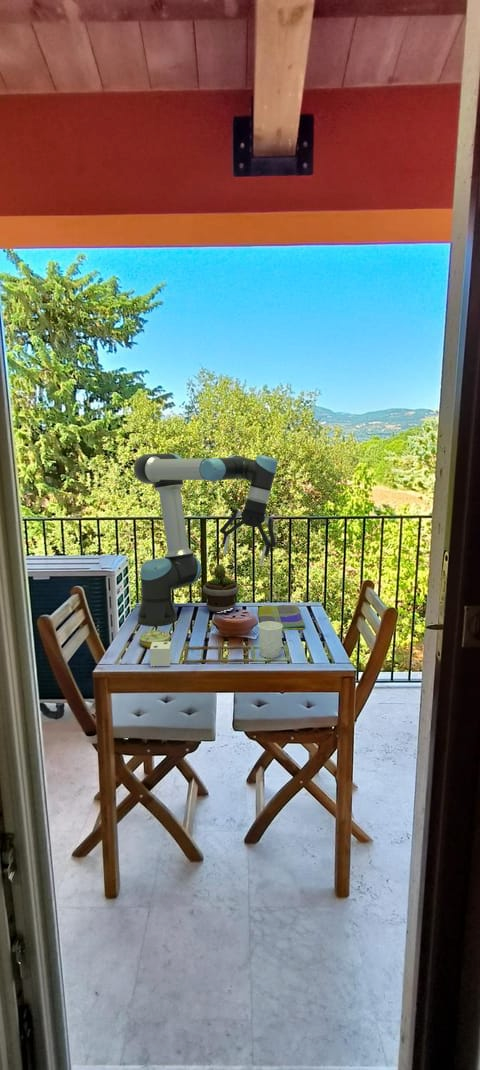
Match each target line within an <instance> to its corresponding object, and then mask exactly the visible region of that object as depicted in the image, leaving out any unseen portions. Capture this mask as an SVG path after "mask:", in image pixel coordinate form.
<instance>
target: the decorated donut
mask: <svg viewBox="0 0 480 1070" xmlns="http://www.w3.org/2000/svg"><path fill="white" fill-rule="evenodd" d="M138 638H139V639H138V640H139V643H140V645H141V646H142V647H143V648H148V649H150V647H151V644H152V642H170V640H171V635H170V633H168V632H166V631H163V630H155V629H154V630H147V631H145V632H143V633H142V634H140V635H139V637H138Z"/></svg>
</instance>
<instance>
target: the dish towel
mask: <svg viewBox="0 0 480 1070" xmlns="http://www.w3.org/2000/svg"><path fill="white" fill-rule="evenodd" d="M257 615H258V621H259V624H260V623H262V622H267V621H273V622H278V623H281V624H282V625H283V628H282V631H305V627H306V623H305V621H304V619H303V616H302V613H301V609H300V607H298V605H296V604H293V605H292V604H290V605H286V604H284V605H283V604H281V605H262V606H259V607H258V608H257Z"/></svg>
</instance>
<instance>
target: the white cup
mask: <svg viewBox="0 0 480 1070" xmlns="http://www.w3.org/2000/svg"><path fill="white" fill-rule="evenodd" d="M257 626H258V627H257V628H258V646H260V649H259V655H260V656H261V657H263V658H265V659H277V658H279V657H280V656H281V649H282V648H281V645H282V641H283V640H282V639H283V630H282V628H283V625H282V624H281V623H278V622H273V621H267V622H262V623H260V622H259V623H258V625H257Z"/></svg>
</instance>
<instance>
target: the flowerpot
mask: <svg viewBox="0 0 480 1070" xmlns="http://www.w3.org/2000/svg"><path fill="white" fill-rule="evenodd" d="M227 573H228V571H227V568H226V566H224V565H223V563H217V562H216V563H215V567H214V568H213V571H212V574H213V578H211V579H210V580H207V581H206V582H205V584H204V585H203V587H202V591H203V593H204V594H205V597H206V600H207V601H206V605H205V606H206V608H207V609H208V611H209V613H210V612H211V613H213V614H216V613H215V612H221V611H224V610H227V609H230V608H234V607H236V601H235V600H236V596H237V593H238V592H239V591H240V586H239V584H237V583H236V581H235V580H233V579H232V578H231V577H229V575H227ZM234 609H235V608H234Z"/></svg>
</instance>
